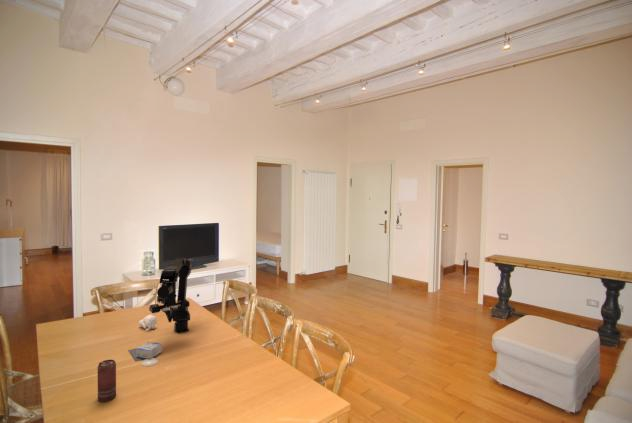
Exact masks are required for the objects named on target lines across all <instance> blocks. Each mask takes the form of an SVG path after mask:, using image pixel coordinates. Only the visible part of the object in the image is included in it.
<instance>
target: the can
mask: <svg viewBox="0 0 632 423" xmlns="http://www.w3.org/2000/svg"><path fill="white" fill-rule="evenodd" d="M116 396H117V362H116V360H114V359H105V360H103V361H100V362H99V363H98V365H97V400H98V401H99V402H101V403H105V402H109V401H111V400H114V399H115V398H116Z"/></svg>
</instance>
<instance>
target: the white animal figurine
mask: <svg viewBox="0 0 632 423" xmlns="http://www.w3.org/2000/svg"><path fill="white" fill-rule="evenodd" d="M157 321H158V319H157V317H156V316H155V315H153V314H148V315H146V316H144V318H141V319H140V320H139V321H138V325H139V328H143V329H145V332H148V331H149V332H150V330H151V329H153V330H154V329H155V328H156V325H157V323H158V322H157Z"/></svg>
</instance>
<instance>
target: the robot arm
mask: <svg viewBox="0 0 632 423" xmlns="http://www.w3.org/2000/svg"><path fill="white" fill-rule="evenodd" d="M192 270H193V264H192V262H191V261H189V260H187V258H185V257H176V258H175V261H173V263H172V264H171V265H170V266H167V267H164V268H163V270H162V271H161V274H160V278H159V284H160V287H159V288H158V289H157V291H156V293H157V296H156V302H157V303H156V304H150V305H149V307H148V311H149V312H150V313H152V314H157V313H160V312H163V313H164V315H166V318H167V321H168V323H172V322H175V323H174V324H173V327H174V328H173V330H174V331H175V332H176V333H177V334H181V333H184V332H188V331H190V329H188V328H189V326H188V325H189V321H191V313H190V311H189V307H190V304H191V303H190V301H189V300H188V299H187V286H188V278H189V277H190V275H191V272H192ZM177 282H178V286H177ZM158 303H160V304H161V305H160V304H158Z"/></svg>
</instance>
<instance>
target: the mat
mask: <svg viewBox="0 0 632 423" xmlns="http://www.w3.org/2000/svg"><path fill="white" fill-rule="evenodd" d="M137 348H138V347H135V348H132V349H131V348H130V349H128V353H129V354H130V356H131V357H132V359H133V360H134V361H135V362H138V361H141V360H142V361H143V360H145V359H146V358H136V349H137ZM158 355H159V354H157V355H156V356H158ZM156 356H155V357H156Z"/></svg>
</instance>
